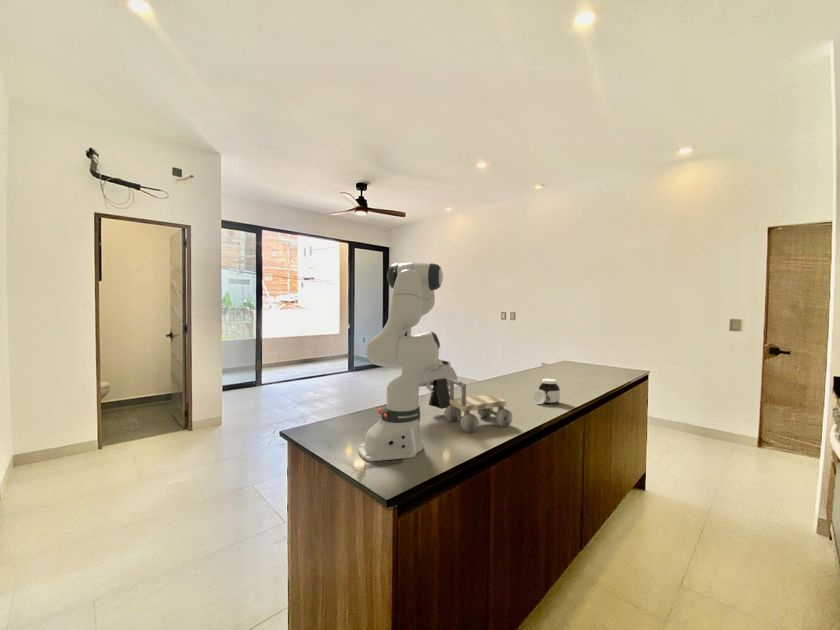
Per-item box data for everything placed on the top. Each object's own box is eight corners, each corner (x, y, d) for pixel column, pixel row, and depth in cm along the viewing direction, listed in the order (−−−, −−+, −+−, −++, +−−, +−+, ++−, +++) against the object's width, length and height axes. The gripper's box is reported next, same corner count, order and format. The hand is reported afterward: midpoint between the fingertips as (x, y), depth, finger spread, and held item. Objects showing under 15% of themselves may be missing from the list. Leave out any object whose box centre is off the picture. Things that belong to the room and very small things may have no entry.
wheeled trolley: (463, 434, 137) (462, 385, 137) (444, 421, 152) (444, 377, 152) (512, 425, 146) (512, 380, 146) (490, 415, 161) (490, 373, 160)
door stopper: (452, 406, 159) (452, 379, 159) (442, 409, 155) (442, 381, 155) (438, 402, 166) (438, 376, 166) (428, 404, 162) (428, 378, 162)
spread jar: (561, 402, 181) (561, 379, 181) (556, 407, 171) (556, 383, 171) (537, 399, 187) (537, 377, 187) (531, 404, 178) (531, 381, 177)
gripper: (412, 364, 163) (421, 389, 154) (452, 361, 171) (462, 385, 162) (409, 372, 167) (417, 397, 158) (448, 369, 175) (458, 393, 166)
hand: (440, 391), depth 160 cm, fingers closed on door stopper, 6 cm apart
